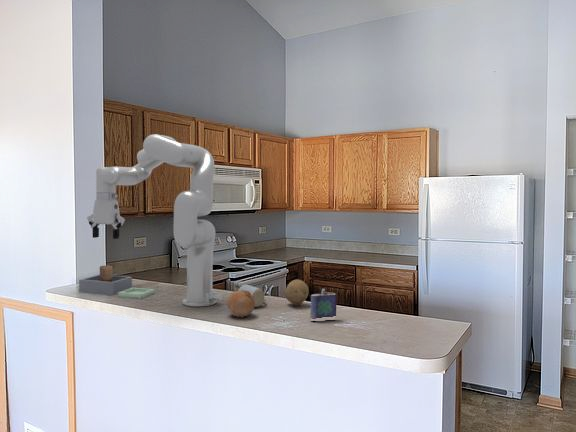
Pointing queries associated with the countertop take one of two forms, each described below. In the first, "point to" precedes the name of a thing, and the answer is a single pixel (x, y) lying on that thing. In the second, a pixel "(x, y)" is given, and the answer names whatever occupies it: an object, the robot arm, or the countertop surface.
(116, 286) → the deep bin
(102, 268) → the walnut cylinder
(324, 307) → the flask
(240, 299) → the onion
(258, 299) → the ceramic mug
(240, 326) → the countertop surface
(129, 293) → the tray
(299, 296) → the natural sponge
